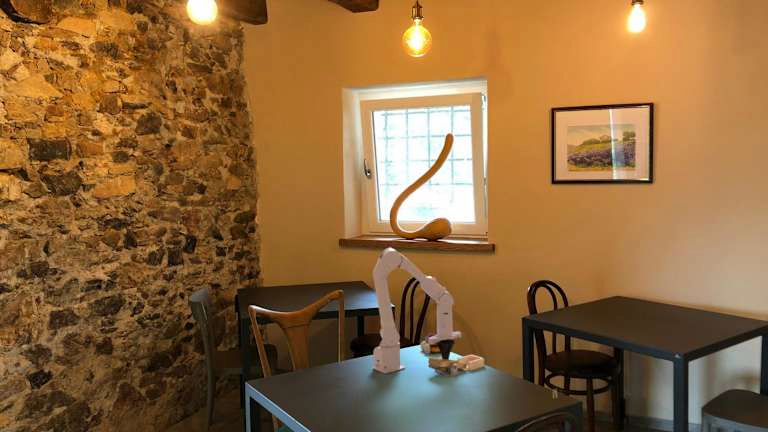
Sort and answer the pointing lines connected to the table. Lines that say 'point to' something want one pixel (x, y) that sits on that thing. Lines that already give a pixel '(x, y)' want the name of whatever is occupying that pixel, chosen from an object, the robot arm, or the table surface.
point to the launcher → (444, 363)
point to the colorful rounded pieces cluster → (429, 345)
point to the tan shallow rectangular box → (471, 362)
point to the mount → (450, 370)
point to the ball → (473, 358)
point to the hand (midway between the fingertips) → (445, 359)
